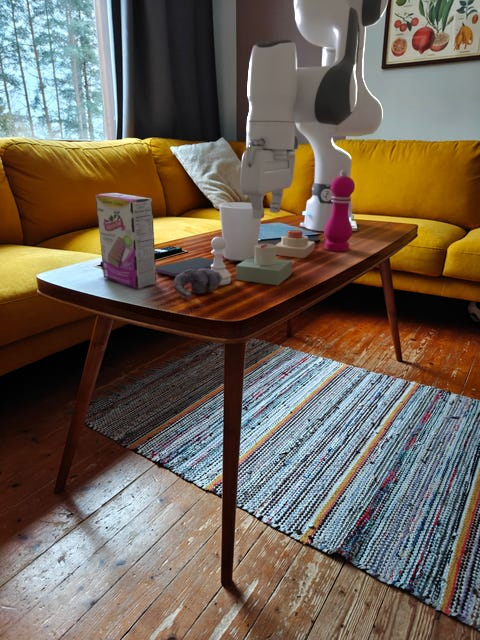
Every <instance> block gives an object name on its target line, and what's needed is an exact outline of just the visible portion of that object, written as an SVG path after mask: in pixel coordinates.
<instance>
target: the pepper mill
mask: <svg viewBox="0 0 480 640" xmlns="http://www.w3.org/2000/svg"><path fill="white" fill-rule="evenodd" d="M347 174H348V172H347V171H346V170H342V171H341V172H340V175H341V176H340V177H337V178H335V179H334V180H333V181H332V183H331V187H330V189H331V192H332V193H333V196H332V200H331V201H332V202H333V210H332V214H331V217H330V219H329V221H328V222H327V224H326V227H325V230H324V231H323V235H324V237H325V238H326V240H325V242H324V249H325V250H326V251H328V252H329V251H330V252H348V251H349V249H350V243H349V242H348V241H349V240H350V239H351V238H352V236H353V231H352V226H351V223H350V220H349V216H348V207H349V203H351V202H352V196H351V195H352V194H353V193H354V192H355V188H356V184H355V181H354V179H353V178H351V176H350V177H347Z"/></svg>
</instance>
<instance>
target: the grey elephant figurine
mask: <svg viewBox="0 0 480 640" xmlns="http://www.w3.org/2000/svg"><path fill="white" fill-rule="evenodd" d="M221 280H222V276H221V275H220V273H219V272H218V271H214V270H211V268H209V269H205V268H202V269H199V270H194V269H190V270H187V271H184V272H182V273H180V274H179V275H177V276H175V278H174V280H173V287H174V291H175V292H176V293H177V294H178V296H180V297H181V298H183V299H187V298H191V299H192V298H193V293H195V294H197V295H198V294H199V295H200V294H203V293H204V292H206V293H210V292H213V291H214V290H216V289H217V288H219V286H220V285H219V283H220V282H221ZM188 283H190V287H191V288H190V289H191V290H188V289H186V288H185V287H186V285H188Z"/></svg>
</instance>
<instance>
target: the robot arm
mask: <svg viewBox="0 0 480 640" xmlns="http://www.w3.org/2000/svg"><path fill="white" fill-rule="evenodd" d="M388 3H389V0H293V11H294V20H295V24H296V28H297V29H298V31H299V33H300V34H301V36H302V37H303V38H304V39H305V40H306V41H307V42H308V43H310V44H311V45H313V46H316V47H322V52H321V66H305V67H303V66H302V67H298V56H297V55H298V53H297V46H296V43H295V42H294V41H293V40H291V39H273V40H263V41H262V40H261V41H259V42H256V43H255V44H254V45H253V46H252V49H251V54H250V59H249V65H248V75H247V100H248V106H249V107H248V115H247V119H246V136H245V137H246V141H245V142H246V143H245V144H246V145H245V149H246V150H244V151H243V154H242V157H241V165H240V177H239V190H240V192H241V195H244V196H249V201H250V203H251V205H252V208H253V218H254V219H261V220H262V219H263V218H264V217H265V208H264V203H263V201H264V198H265V197H264V196H265V194H269V193H271V202H270V203H269V212H270V213H273V214H278V213H280V212H281V203H282V200H283V197H284V190H286V189H289V188H291V186H292V184H293V181H294V173H295V165H296V152H295V151H298V149H299V143H300V142H299V138H298V136H297V134H296V130H295V127H296V129H297V130H298V132H299V133H300V134H301V135H303V136H304V137H305V138H306V140H307V141H308V143H309V145H310V146H311V149H312V151H313V155H314V156H313V157H314V180H313V181H314V182H313V183H312V186H311V195H312V196H311V197H310V198H309V199H308V200H307V201H306V205H305V210H304V211H302V216H304V221H302V222H300V223H299V227H302V228H306V229H308V230H311V231H316V232H317V231H318V232H324V230H325V227H326V224H327V222H328V221H329V219H330V217H331V214H332V210H333V202H332V201H331V200H332V196H333V193H332V192H331V189H330V187H331V183H332V181H333V180H334V179H335V178H337V177H340V176H341V175H340V172H341V171H342V170H346V171H347V172H348V174H347V177H350V178H351V174H352V164H353V159H352V156H351V155H350V154H349V152H347V151H345V149H343V148H340V147H339V146H337V145H336V144H335V143H334V138H335V137H363V136H368V135H373V134H374V133H375V132H376V131H378V129H379V127H380V125H381V124H382V121H383V117H384V112H383V111H384V110H383V107H382V104H381V102H380V101H379V100H378V98H377V97H375V96H374V95H373V94H372V93H371V92H370V90H369V89H368V87H367V85H366V82H365V79H364V78H365V77H364V55H365V45H366V35H367V34H366V33H367V31H366V30H367V27H370V26H374V25H376V24H377V23H378V22H380V21H381V19H382V17H383V15H384V13H385V11H386V9H387V6H388ZM352 202H353V201H351V203H349V207H348V216H349V220H350V223H351V226H352V232H357V231H358V226H357V221H356V220H354V218H355V215H354V214H353V206H354V204H353V203H352Z"/></svg>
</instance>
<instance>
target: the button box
mask: <svg viewBox="0 0 480 640" xmlns="http://www.w3.org/2000/svg"><path fill="white" fill-rule="evenodd" d="M275 245H276V246H277V247H276V256H280V257H289V258H298V259H305V258H306V257H308V256H309V255H310V254H311V253H312V252H313V251H315V245H316V242H315V241H311V240H309V237H308V236H307V235H304V234H302V238H288V233H287V234H283V235H281V241H280V242H278V243H276V244H275Z"/></svg>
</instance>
